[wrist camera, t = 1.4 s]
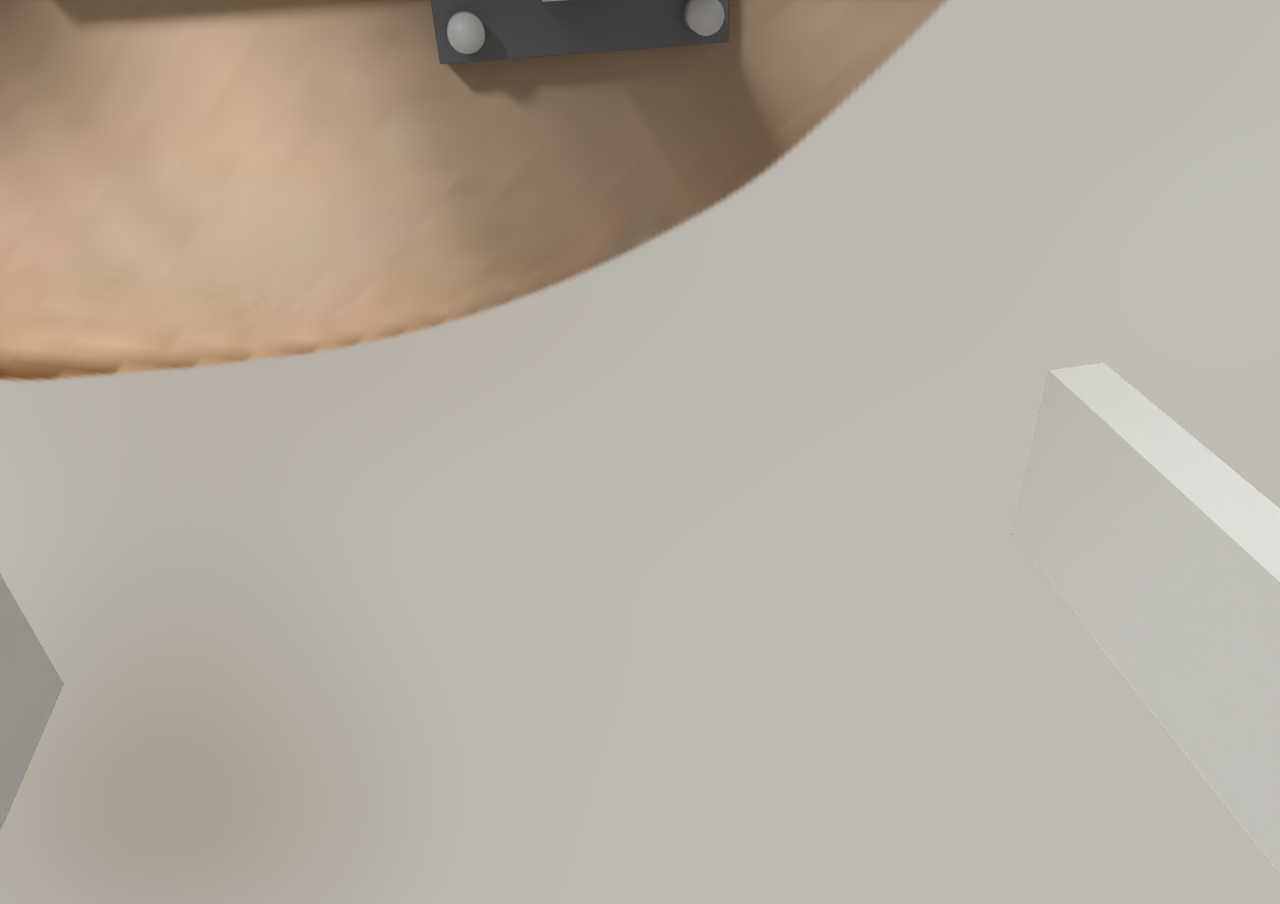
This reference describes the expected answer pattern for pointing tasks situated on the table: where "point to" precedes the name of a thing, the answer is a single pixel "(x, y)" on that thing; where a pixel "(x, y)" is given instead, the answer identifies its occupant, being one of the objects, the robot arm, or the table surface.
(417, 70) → the table surface
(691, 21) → the block
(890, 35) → the table surface
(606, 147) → the table surface
